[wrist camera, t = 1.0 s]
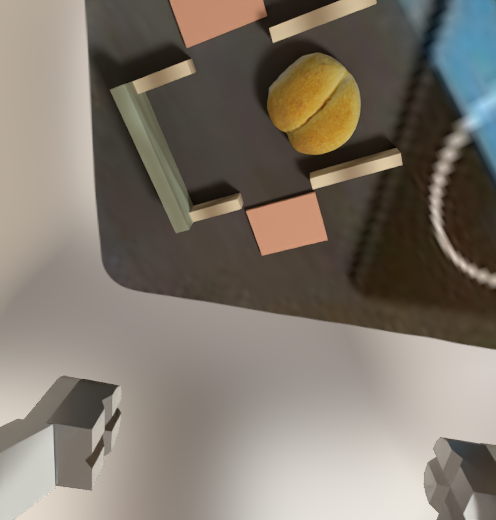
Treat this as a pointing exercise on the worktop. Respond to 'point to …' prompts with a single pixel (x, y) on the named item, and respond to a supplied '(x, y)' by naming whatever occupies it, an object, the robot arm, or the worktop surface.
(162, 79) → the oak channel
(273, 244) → the trap pads
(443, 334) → the worktop surface
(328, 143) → the bread roll
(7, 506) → the robot arm
